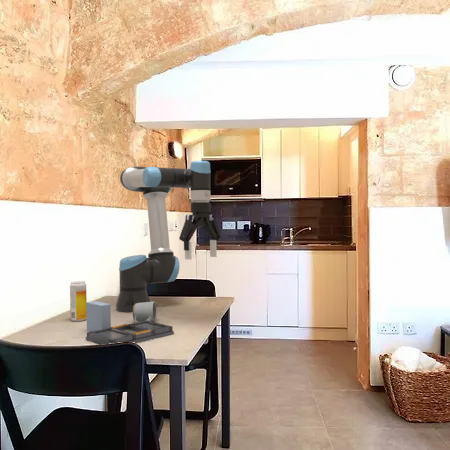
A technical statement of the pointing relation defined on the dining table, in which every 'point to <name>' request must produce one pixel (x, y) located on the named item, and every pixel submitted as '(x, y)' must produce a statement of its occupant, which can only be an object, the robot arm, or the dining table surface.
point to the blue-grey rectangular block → (98, 316)
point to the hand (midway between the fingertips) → (201, 258)
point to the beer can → (78, 301)
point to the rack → (130, 333)
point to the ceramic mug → (144, 312)
